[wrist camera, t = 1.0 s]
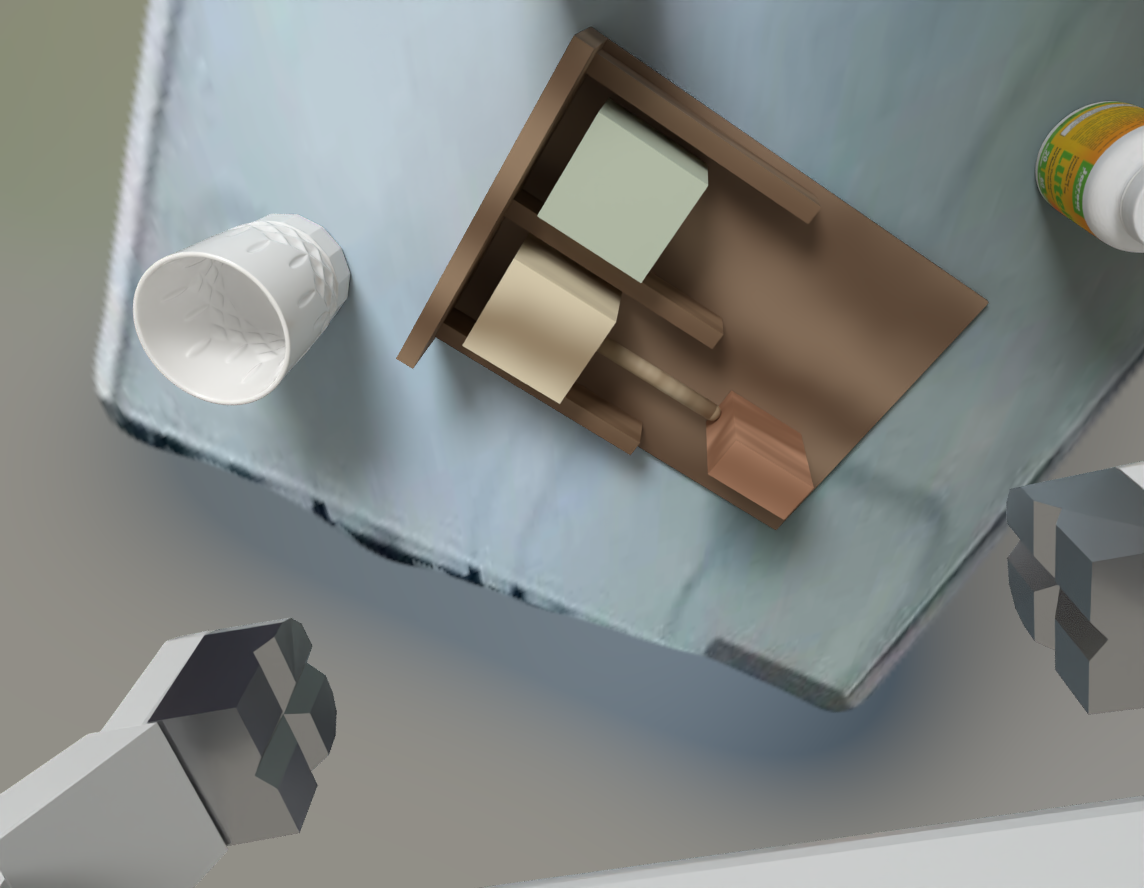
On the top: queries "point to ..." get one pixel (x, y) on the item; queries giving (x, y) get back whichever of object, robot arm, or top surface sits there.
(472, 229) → the walnut rack
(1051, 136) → the supplement bottle
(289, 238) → the white cup
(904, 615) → the top surface
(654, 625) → the top surface
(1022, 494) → the robot arm
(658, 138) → the sage block
